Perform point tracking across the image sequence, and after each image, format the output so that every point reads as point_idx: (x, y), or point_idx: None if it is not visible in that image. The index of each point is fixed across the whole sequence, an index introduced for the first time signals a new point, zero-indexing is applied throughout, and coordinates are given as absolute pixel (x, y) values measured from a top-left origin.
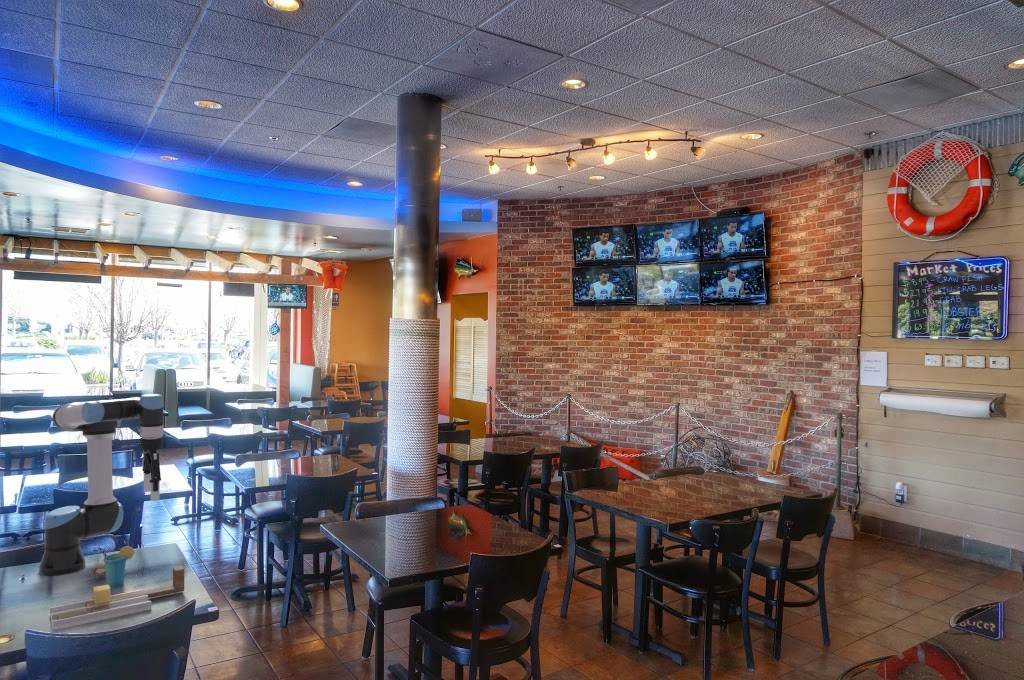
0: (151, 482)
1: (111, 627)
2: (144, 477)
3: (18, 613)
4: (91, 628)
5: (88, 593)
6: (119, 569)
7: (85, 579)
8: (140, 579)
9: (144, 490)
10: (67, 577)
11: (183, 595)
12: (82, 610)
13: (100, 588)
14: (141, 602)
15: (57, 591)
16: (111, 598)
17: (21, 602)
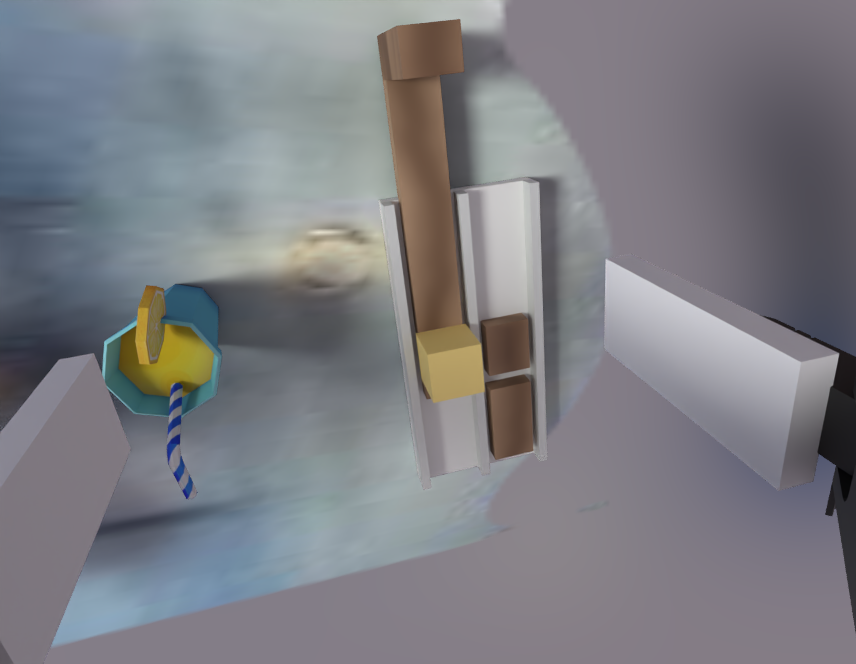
0: (811, 472)
1: None
2: (52, 629)
3: (353, 552)
4: (579, 351)
5: (248, 397)
6: (209, 326)
7: None
8: (137, 214)
9: (121, 459)
10: None
11: None
12: (500, 398)
13: (461, 377)
14: (476, 213)
15: (182, 496)
16: (433, 322)
17: (255, 569)
